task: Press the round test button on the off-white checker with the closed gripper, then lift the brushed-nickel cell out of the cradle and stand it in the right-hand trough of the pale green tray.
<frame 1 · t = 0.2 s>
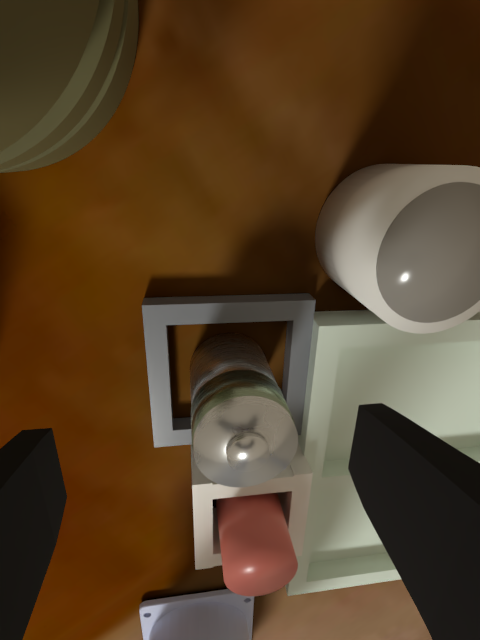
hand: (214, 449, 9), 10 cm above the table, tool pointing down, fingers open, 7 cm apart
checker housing: (243, 479, 23), on the table
cradle: (228, 367, 19), on the table
trough tray: (397, 452, 24), on the table
test button: (253, 533, 19), point 4 cm above the table, slide at 0.0 cm
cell: (236, 403, 17), in the cradle
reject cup: (375, 231, 18), on the table
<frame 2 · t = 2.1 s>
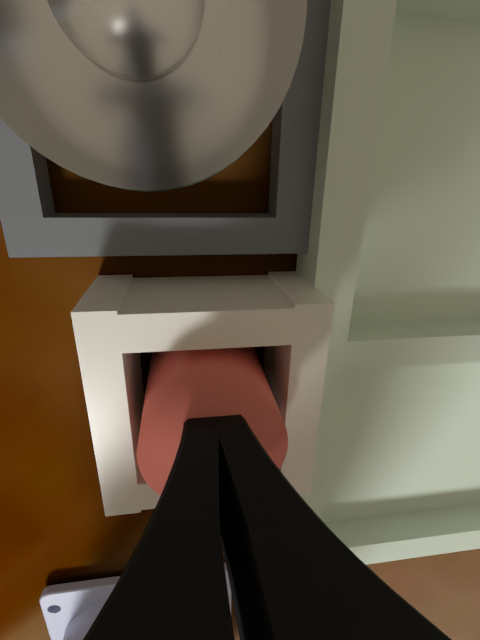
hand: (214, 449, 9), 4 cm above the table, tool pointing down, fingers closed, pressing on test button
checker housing: (204, 363, 13), on the table
cradle: (159, 91, 9), on the table
trough tray: (473, 324, 14), on the table
test button: (208, 402, 11), point 2 cm above the table, slide at 1.3 cm, touching gripper
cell: (149, 60, 7), in the cradle
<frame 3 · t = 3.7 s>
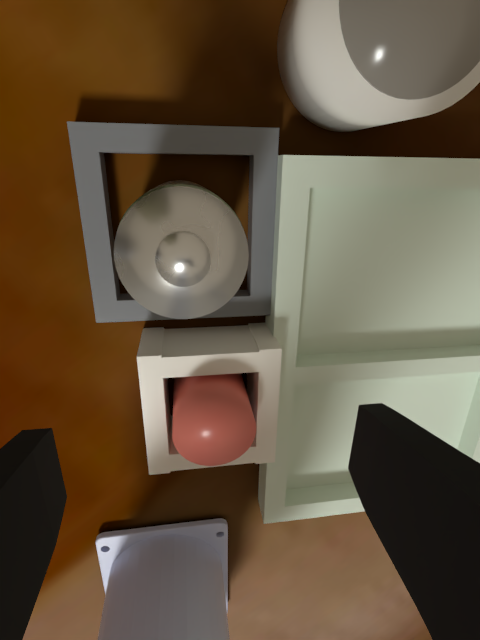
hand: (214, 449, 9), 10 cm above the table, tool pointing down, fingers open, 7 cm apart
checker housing: (208, 380, 20), on the table
cradle: (182, 227, 17), on the table
trough tray: (385, 352, 21), on the table
test button: (211, 405, 18), point 2 cm above the table, slide at 1.3 cm
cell: (182, 240, 14), in the cradle
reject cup: (349, 48, 15), on the table
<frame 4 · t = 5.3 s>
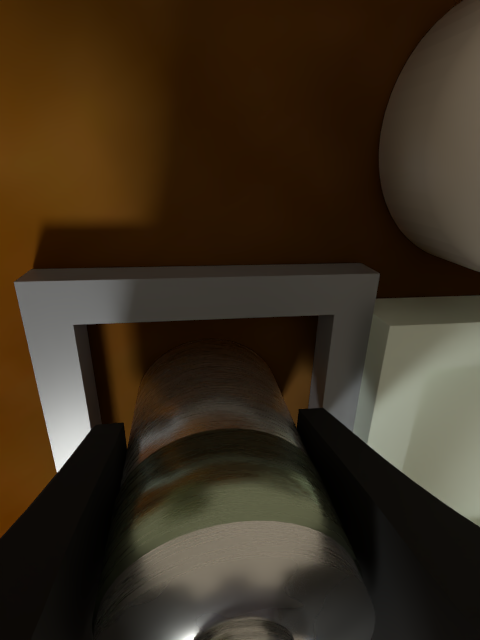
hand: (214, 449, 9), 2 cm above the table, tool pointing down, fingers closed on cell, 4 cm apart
cradle: (208, 402, 11), on the table
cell: (219, 492, 8), in the cradle, touching gripper
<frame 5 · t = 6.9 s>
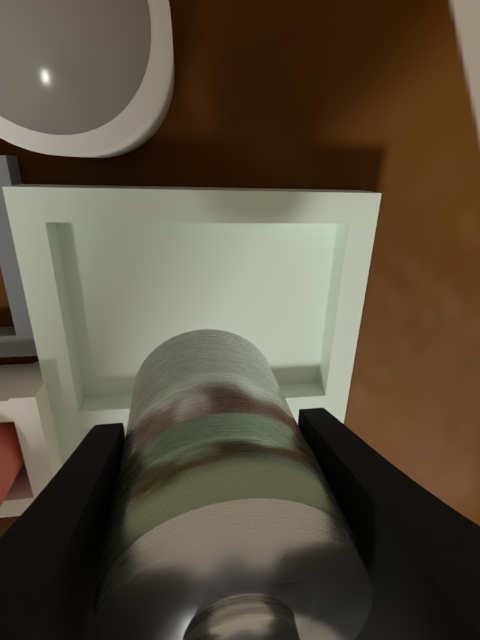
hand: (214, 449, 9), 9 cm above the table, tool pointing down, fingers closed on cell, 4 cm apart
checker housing: (2, 420, 18), on the table
trough tray: (205, 390, 19), on the table
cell: (217, 478, 8), point 10 cm above the table, touching gripper
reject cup: (89, 66, 13), on the table
when the fingers open (3 cm above the table, at t = 8.5 s): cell stays where it is, resting on trough tray.
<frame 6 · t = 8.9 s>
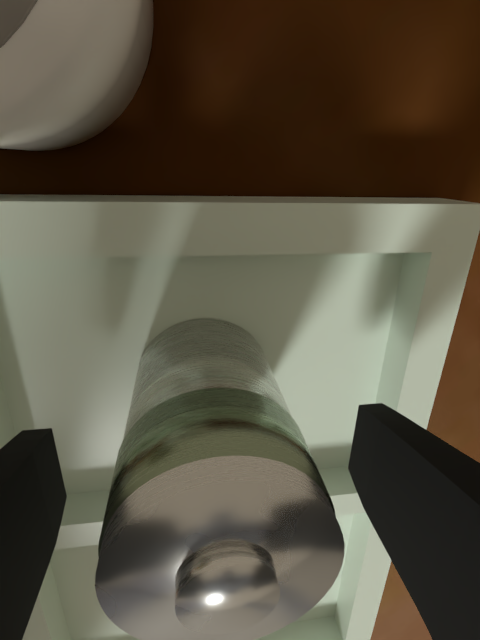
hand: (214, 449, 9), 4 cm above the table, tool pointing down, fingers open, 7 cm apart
trough tray: (207, 477, 14), on the table
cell: (212, 451, 9), in the trough tray, point 4 cm above the table
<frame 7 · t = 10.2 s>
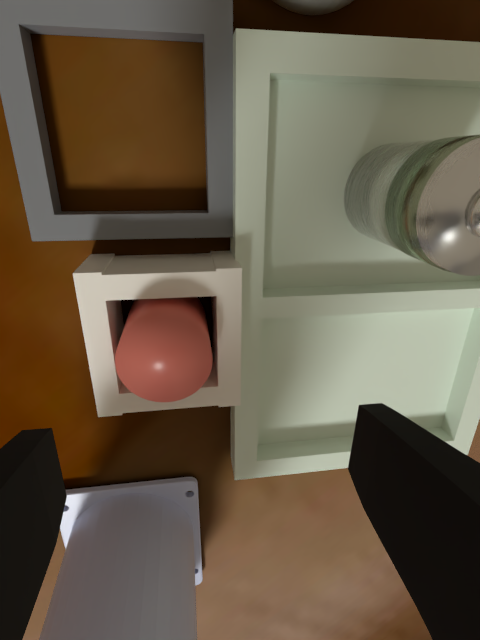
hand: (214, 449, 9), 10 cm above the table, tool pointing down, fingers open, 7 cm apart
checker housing: (168, 318, 18), on the table
cradle: (128, 131, 15), on the table
trough tray: (367, 290, 19), on the table
test button: (166, 339, 16), point 2 cm above the table, slide at 1.3 cm
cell: (431, 200, 13), in the trough tray, point 4 cm above the table
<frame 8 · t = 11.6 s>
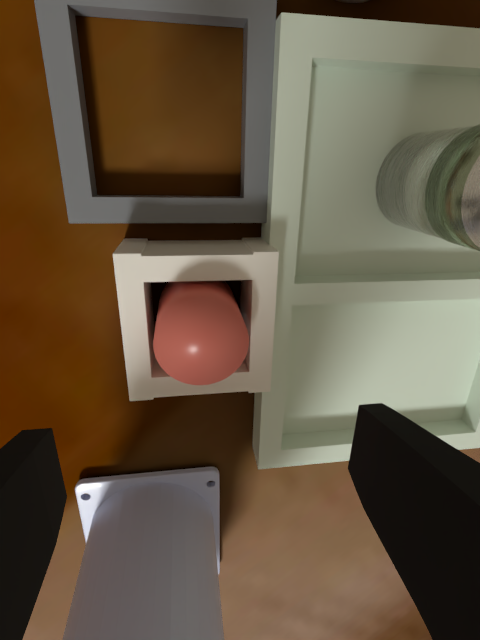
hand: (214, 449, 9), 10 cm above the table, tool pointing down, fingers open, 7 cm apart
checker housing: (197, 304, 18), on the table
cradle: (166, 115, 15), on the table
trough tray: (393, 279, 19), on the table
test button: (199, 323, 16), point 2 cm above the table, slide at 1.3 cm
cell: (469, 186, 14), in the trough tray, point 4 cm above the table
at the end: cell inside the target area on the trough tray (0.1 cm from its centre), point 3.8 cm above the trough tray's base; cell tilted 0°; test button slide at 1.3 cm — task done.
